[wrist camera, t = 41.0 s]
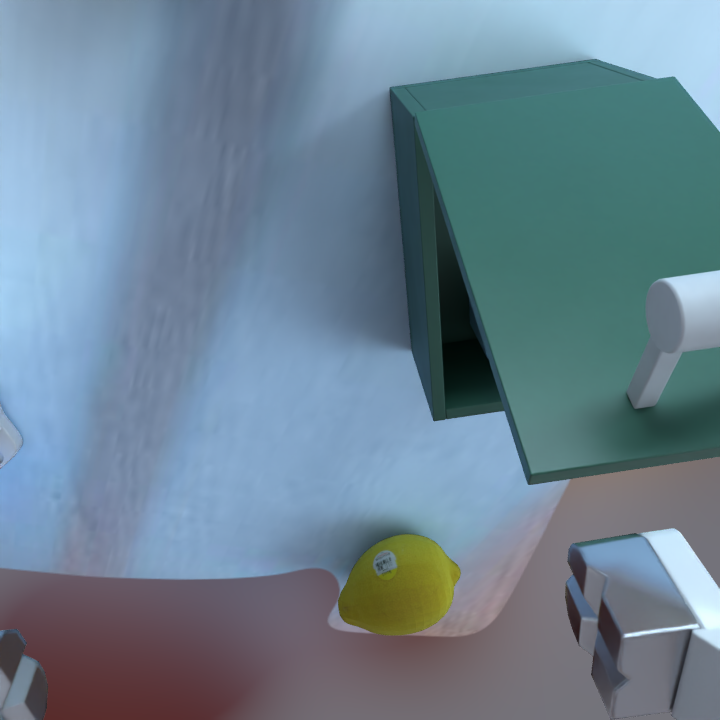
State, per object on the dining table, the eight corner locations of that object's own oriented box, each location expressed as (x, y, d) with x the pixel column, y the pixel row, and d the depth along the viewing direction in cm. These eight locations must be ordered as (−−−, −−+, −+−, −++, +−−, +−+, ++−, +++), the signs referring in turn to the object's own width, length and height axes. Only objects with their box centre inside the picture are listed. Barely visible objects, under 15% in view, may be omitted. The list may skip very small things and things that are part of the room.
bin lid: (935, 425, 20) (1086, 297, 15) (527, 486, 20) (559, 373, 15) (670, 89, 32) (711, -39, 27) (414, 124, 31) (413, 1, 27)
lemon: (447, 508, 58) (468, 581, 51) (454, 567, 62) (474, 642, 55) (326, 529, 58) (331, 605, 51) (341, 587, 62) (347, 664, 55)
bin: (577, 327, 49) (628, 392, 42) (411, 351, 49) (433, 421, 41) (596, 58, 39) (668, 81, 32) (389, 87, 39) (412, 116, 32)
